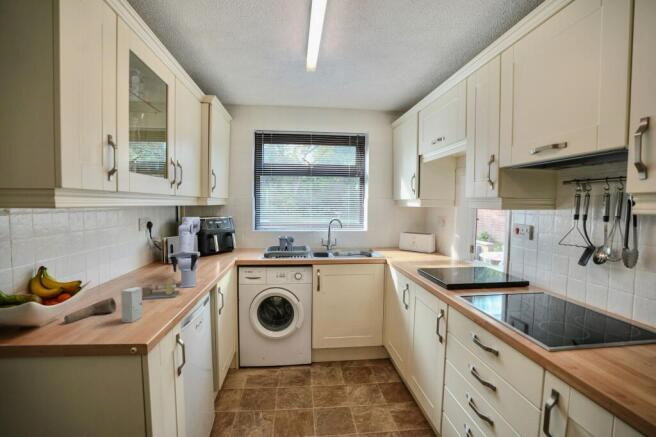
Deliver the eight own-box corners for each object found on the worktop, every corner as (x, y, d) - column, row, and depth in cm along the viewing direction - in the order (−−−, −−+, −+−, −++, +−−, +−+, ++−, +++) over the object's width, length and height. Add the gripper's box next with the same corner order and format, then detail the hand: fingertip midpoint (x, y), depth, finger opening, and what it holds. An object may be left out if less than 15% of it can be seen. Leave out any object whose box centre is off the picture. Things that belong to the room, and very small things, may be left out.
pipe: (58, 311, 109) (80, 308, 107) (99, 297, 125) (119, 295, 124) (61, 328, 109) (83, 325, 107) (102, 312, 125) (122, 309, 124)
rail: (139, 300, 137) (139, 289, 137) (147, 294, 146) (146, 283, 146) (174, 297, 141) (174, 287, 140) (179, 291, 150) (179, 281, 150)
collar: (166, 294, 141) (165, 282, 141) (169, 291, 147) (169, 279, 147) (171, 294, 142) (171, 282, 142) (174, 290, 148) (174, 279, 148)
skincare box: (132, 322, 110) (131, 291, 110) (120, 322, 110) (120, 291, 110) (143, 316, 116) (142, 286, 116) (132, 316, 116) (131, 286, 116)
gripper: (167, 243, 144) (165, 269, 138) (198, 241, 148) (197, 266, 142) (170, 248, 151) (168, 274, 144) (200, 246, 154) (200, 271, 148)
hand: (183, 270), depth 144 cm, fingers open, 7 cm apart
